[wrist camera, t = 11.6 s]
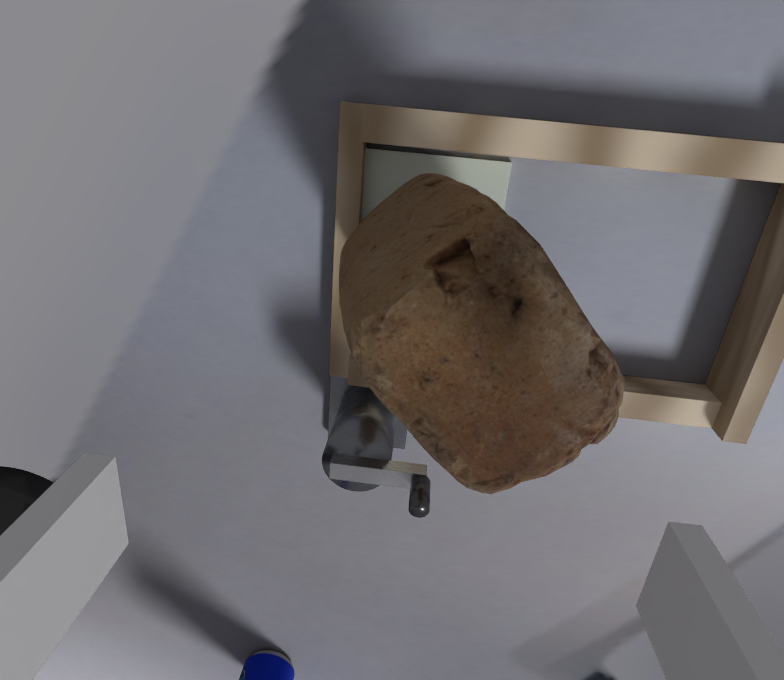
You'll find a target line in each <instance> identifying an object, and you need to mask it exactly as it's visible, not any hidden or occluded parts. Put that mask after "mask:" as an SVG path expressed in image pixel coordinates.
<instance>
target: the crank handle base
mask: <svg viewBox="0 0 784 680" xmlns="http://www.w3.org/2000/svg"><path fill="white" fill-rule="evenodd" d="M347 381H348V378H344V377H335V376H331V378H330V401H329V425H328V441H327V444H326V447H325V450H324V453H323V456H322V465H323V469H324V471H325V473H326V475H327V476H328V477H329V479H330V480H331V481H332V482H334V483H335V484H336V485H338V486H340V487H342V488H344V489H347V490H351V491H367V490H371V489H374V488H376V487H378V486H379V485H384V486H392V487H400V488H408V489H410V498H409V512H410V514H411V515H413V516H415V517H424V516H426V515H427V514H428V513H429V506H430V480H429V478H428V477H427V476H426V475H427V465H422V464H414V463H406V462H398V461H391V458H392V451H393V448H401V449H405V442H406V433H407V428H406V427H405V425H404V424H403V423H402V422H401V421H400V420H399V419H398V418H397V417H396V416H395V415H394V414H393V413H392V412H391V411H390V410H388V409H387V408H386V407H385V406H384V405H383V404H382V403H381V401H380V400H379V399H378V397H377V396H376V395H375V394H374V392H373V391H372V390H371V388H369V387H361V386H352V385H347Z"/></svg>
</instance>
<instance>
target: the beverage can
mask: <svg viewBox="0 0 784 680" xmlns="http://www.w3.org/2000/svg"><path fill="white" fill-rule="evenodd" d="M293 679H294V669H293V666H292V664H291V662H290V661H289V659H288V658H287V657H286V656H284V655H283V654H281V653H279V652H276V651H272V650H262V651H258V652H256V653H254V654H253V655H251V656H250V657H249V658H248V659H247V660H246V662H245V664H244V667H243V670H242V672H241V675H240V678H239V680H293Z"/></svg>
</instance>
